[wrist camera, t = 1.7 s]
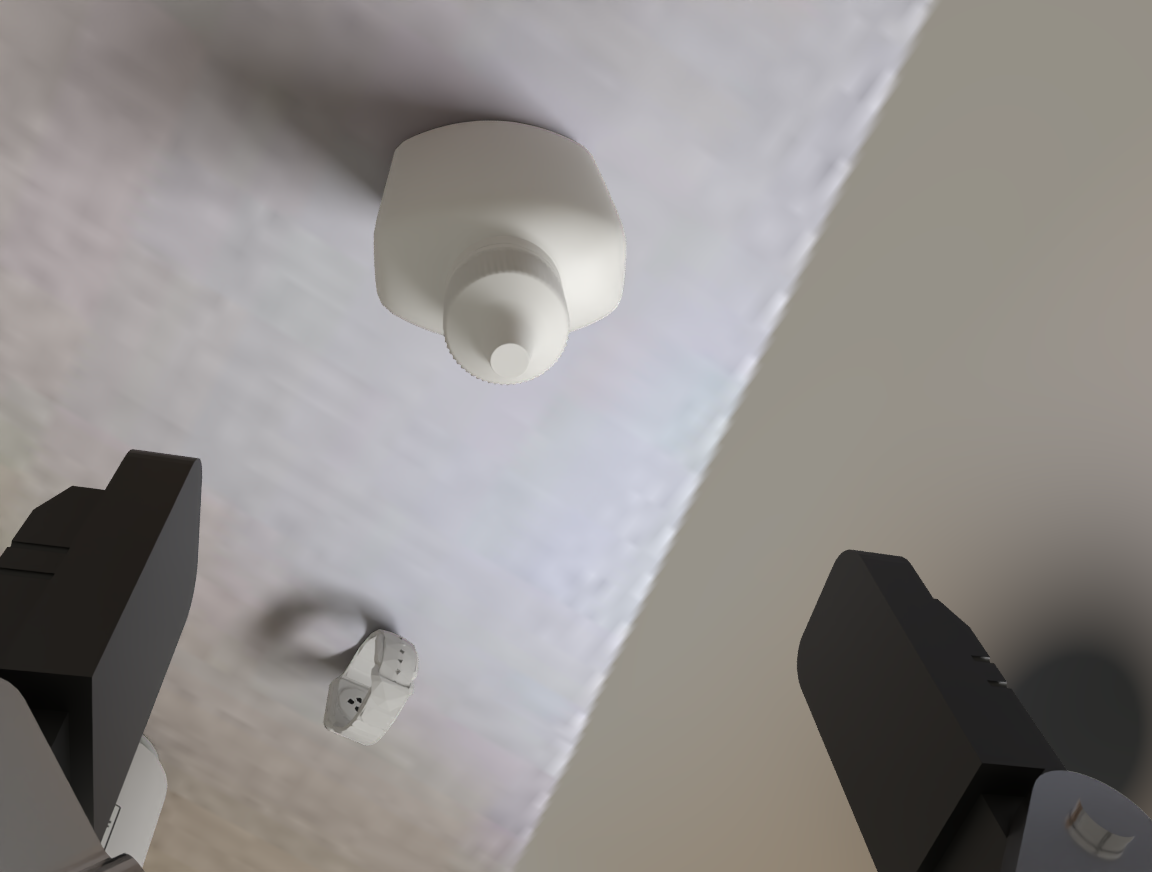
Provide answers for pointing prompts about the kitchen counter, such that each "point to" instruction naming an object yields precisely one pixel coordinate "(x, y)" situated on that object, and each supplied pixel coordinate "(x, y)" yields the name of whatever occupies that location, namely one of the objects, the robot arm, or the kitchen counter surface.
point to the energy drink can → (137, 806)
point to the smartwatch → (372, 688)
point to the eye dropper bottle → (498, 244)
